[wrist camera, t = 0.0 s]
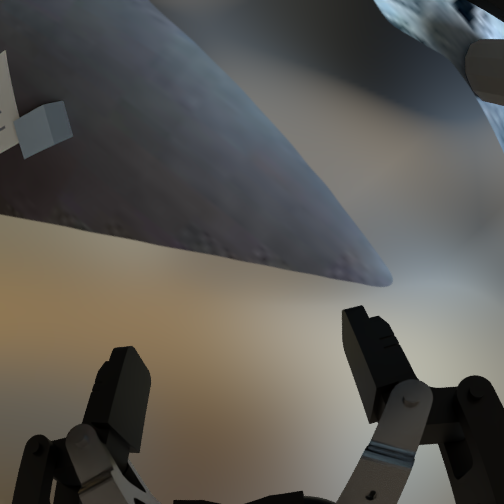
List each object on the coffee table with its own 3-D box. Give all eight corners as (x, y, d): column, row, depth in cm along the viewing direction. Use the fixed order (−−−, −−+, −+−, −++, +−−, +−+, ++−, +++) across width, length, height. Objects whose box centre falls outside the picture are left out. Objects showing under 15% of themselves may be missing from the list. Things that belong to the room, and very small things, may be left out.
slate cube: (34, 115, 31) (13, 121, 27) (63, 100, 31) (43, 104, 26) (44, 149, 33) (24, 159, 29) (73, 136, 33) (54, 144, 29)
